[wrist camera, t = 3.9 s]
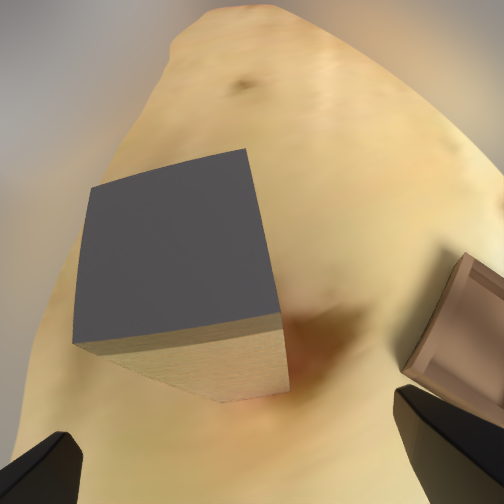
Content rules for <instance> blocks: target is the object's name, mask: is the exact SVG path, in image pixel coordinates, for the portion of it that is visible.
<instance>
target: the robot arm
mask: <svg viewBox="0 0 504 504" xmlns="http://www.w3.org/2000/svg"><path fill="white" fill-rule="evenodd" d="M393 416H394V419H395V422H396V425H397V428H398V430H399V433H400V436H401V438H402V441H403V444H404V447H405V450H406V452H407V455H408V458H409V461H410V463H411V466H412V468H413V470H414V472H415V474H416V476H417V478H418V480H419V482H420V484H421V486H422V488H423V490H424V492H425V494H426V496H427V498H428V500H429V502H430V504H504V428H503V427H500V426H498V425H496V424H494V423H491V422H489V421H487V420H485V419H483V418H480V417H478V416H476V415H474V414H472V413H470V412H468V411H465V410H463V409H461V408H459V407H457V406H455V405H453V404H451V403H448V402H446V401H444V400H442V399H440V398H438V397H436V396H434V395H432V394H430V393H428V392H426V391H424V390H422V389H420V388H418V387H416V386H414V385H411V384H408V385H405V386H402V387H399V388H397V389H396V390H395V392H394V404H393ZM82 462H83V453H82V450H81V449H80V447H79V446H78V444H77V443H76V442H75V440H74V439H73V437H72V436H71V435H70V434H69V433H68V432H62V431H57V432H55V433H53V434H52V435H50V436H49V437H47V438H46V439H45V440H43V441H42V442H40V443H39V444H37V445H36V446H35V447H33V448H32V449H30V450H29V451H27V452H26V453H25V454H23V455H22V456H20V457H19V458H17V459H16V460H14V461H13V462H11V463H10V464H9V465H7V466H6V467H4V468H3V469H1V470H0V504H77V500H78V493H79V485H80V477H81V469H82Z"/></svg>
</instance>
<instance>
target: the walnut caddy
mask: <svg viewBox="0 0 504 504" xmlns="http://www.w3.org/2000/svg"><path fill="white" fill-rule="evenodd" d="M401 373H402V374H404V375H405V376H407V377H408V378H410V379H411V380H413V381H415V382H416V383H418V384H419V385H421V386H422V387H424V388H426V389H427V390H429V391H430V392H432V393H433V394H435V395H437V396H438V397H440V398H441V399H443V400H445V401H446V402H448V403H451V404H453V405H455V406H457V407H459V408H461V409H463V410H465V411H468V412H470V413H472V414H474V415H476V416H478V417H480V418H483V419H485V420H487V421H489V422H491V423H494V424H496V425H498V426H500V427H503V428H504V278H503V277H501V276H500V275H498V274H497V273H495V272H494V271H493V270H491V269H490V268H488V267H487V266H485V265H484V264H482V263H481V262H479V261H478V260H476V259H475V258H473V257H472V256H470V255H469V254H467V253H466V252H465V253H464V255H463V256H462V257H461V258H460V260H459V261H458V262H457V263H456V265H455V266H454V268H453V270H452V273H451V275H450V277H449V280H448V282H447V284H446V287H445V289H444V291H443V293H442V296H441V298H440V300H439V302H438V304H437V306H436V308H435V310H434V312H433V314H432V317H431V319H430V321H429V323H428V325H427V326H426V328H425V330H424V332H423V334H422V336H421V338H420V340H419V342H418V344H417V345H416V347H415V349H414V351H413V353H412V354H411V356H410V358H409V360H408V361H407V363H406V365H405V367H404V368H403V370H402V372H401Z"/></svg>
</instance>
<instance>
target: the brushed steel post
mask: <svg viewBox="0 0 504 504" xmlns="http://www.w3.org/2000/svg"><path fill="white" fill-rule="evenodd" d="M72 344H74V345H76V346H78V347H80V348H82V349H85V350H87V351H89V352H91V353H93V354H95V355H97V356H99V357H102V358H104V359H106V360H108V361H111V362H113V363H115V364H117V365H120V366H122V367H124V368H127V369H129V370H132V371H134V372H136V373H139V374H141V375H144V376H146V377H149V378H151V379H154V380H157V381H159V382H162V383H165V384H167V385H170V386H173V387H176V388H178V389H181V390H184V391H187V392H190V393H193V394H196V395H199V396H202V397H205V398H208V399H211V400H214V401H218V402H221V403H224V402H232V401H239V400H245V399H252V398H258V397H264V396H270V395H275V394H280V393H286V392H290V384H289V375H288V367H287V358H286V350H285V342H284V334H283V326H282V317H281V310H280V306H279V301H278V296H277V291H276V286H275V282H274V277H273V272H272V267H271V262H270V258H269V253H268V248H267V244H266V239H265V234H264V230H263V225H262V220H261V216H260V211H259V207H258V202H257V197H256V193H255V188H254V184H253V179H252V175H251V170H250V166H249V161H248V157H247V152H246V148H245V149H240V150H235V151H230V152H225V153H221V154H216V155H212V156H207V157H203V158H198V159H194V160H190V161H186V162H182V163H178V164H174V165H170V166H166V167H162V168H158V169H154V170H151V171H147V172H143V173H140V174H136V175H133V176H129V177H126V178H122V179H119V180H116V181H112V182H109V183H106V184H102V185H99V186H96V187H93V188H91V192H90V197H89V202H88V207H87V213H86V218H85V224H84V230H83V236H82V243H81V249H80V257H79V265H78V273H77V282H76V293H75V305H74V320H73V342H72Z"/></svg>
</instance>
